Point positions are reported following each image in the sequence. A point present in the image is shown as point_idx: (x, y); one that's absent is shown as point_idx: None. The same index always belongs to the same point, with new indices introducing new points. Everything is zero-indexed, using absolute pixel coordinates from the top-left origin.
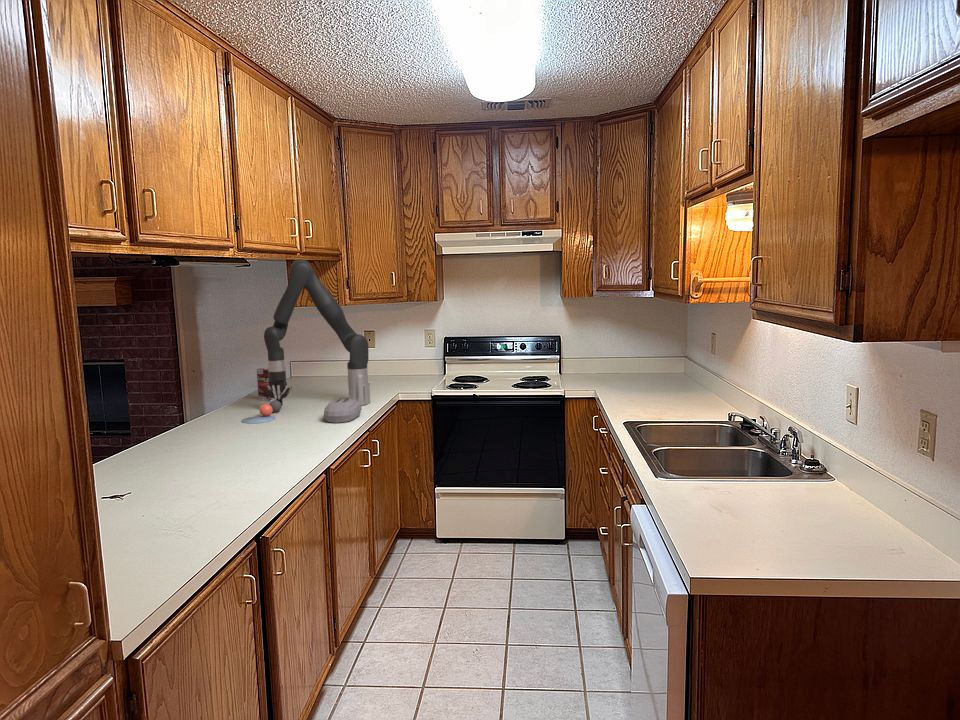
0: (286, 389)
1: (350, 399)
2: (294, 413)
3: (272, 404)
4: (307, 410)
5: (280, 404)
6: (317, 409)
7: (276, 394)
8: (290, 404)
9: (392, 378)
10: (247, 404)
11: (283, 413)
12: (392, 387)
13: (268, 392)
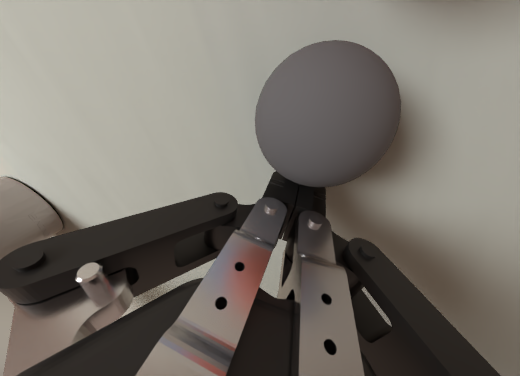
0: (71, 267)
1: (4, 204)
2: (152, 30)
3: (347, 52)
4: (128, 131)
5: (256, 114)
6: (96, 146)
7: (296, 257)
8: (273, 281)
9: None
10: (508, 359)
11: (240, 42)
12: (110, 323)
13: (450, 344)
